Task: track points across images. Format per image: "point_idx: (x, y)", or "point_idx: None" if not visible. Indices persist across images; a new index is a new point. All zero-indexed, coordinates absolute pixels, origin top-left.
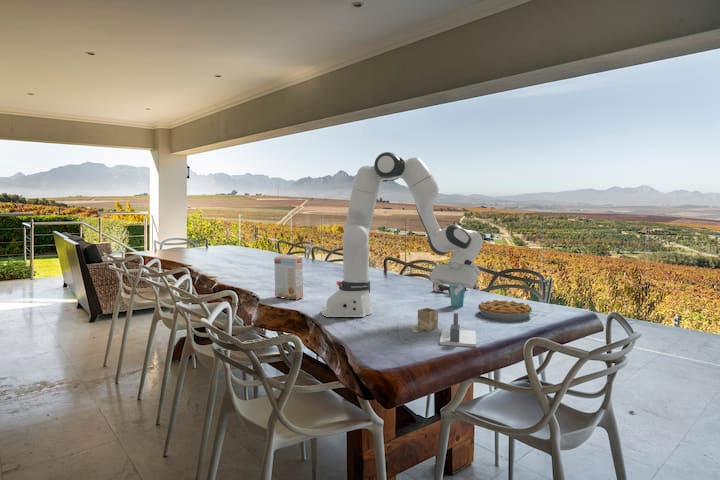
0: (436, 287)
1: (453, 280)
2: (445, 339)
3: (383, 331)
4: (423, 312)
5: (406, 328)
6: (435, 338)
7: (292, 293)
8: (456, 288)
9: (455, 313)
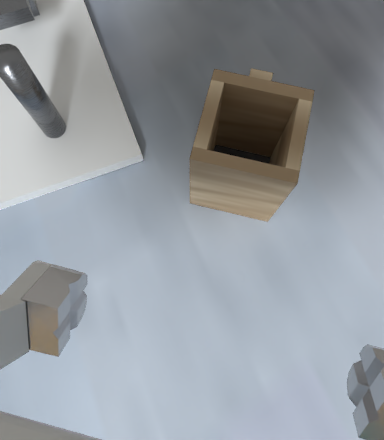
0: (381, 368)
1: (40, 435)
2: (64, 16)
3: (380, 24)
4: (259, 84)
5: (324, 116)
6: (127, 51)
7: None
8: (3, 302)
9: (8, 59)
